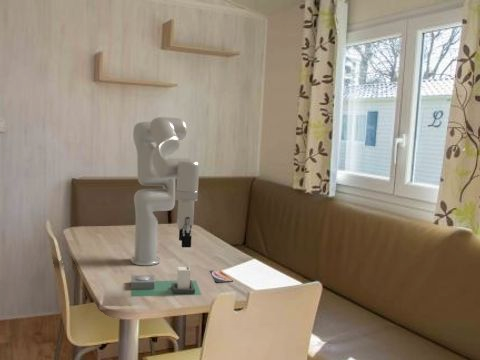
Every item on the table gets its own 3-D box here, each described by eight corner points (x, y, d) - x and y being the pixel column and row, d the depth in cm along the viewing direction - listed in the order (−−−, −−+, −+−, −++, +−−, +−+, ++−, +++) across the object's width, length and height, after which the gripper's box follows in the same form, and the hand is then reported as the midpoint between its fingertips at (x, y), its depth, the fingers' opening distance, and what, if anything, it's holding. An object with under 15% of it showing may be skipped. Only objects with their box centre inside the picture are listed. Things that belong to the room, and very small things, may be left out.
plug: (176, 288, 180) (177, 266, 179) (187, 288, 181) (188, 266, 180) (177, 292, 176) (178, 269, 175) (189, 292, 177) (190, 269, 176)
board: (131, 284, 185) (131, 273, 185) (195, 283, 190) (196, 273, 190) (131, 299, 170) (131, 288, 169) (201, 298, 175) (201, 287, 174)
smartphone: (219, 269, 209) (234, 281, 195) (219, 271, 209) (234, 283, 195) (202, 270, 205) (216, 282, 192) (202, 272, 206) (216, 284, 192)
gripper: (174, 191, 182) (172, 237, 184) (178, 199, 165) (176, 250, 167) (194, 192, 184) (192, 238, 186) (200, 200, 167) (198, 250, 169)
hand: (184, 243), depth 176 cm, fingers open, 9 cm apart
